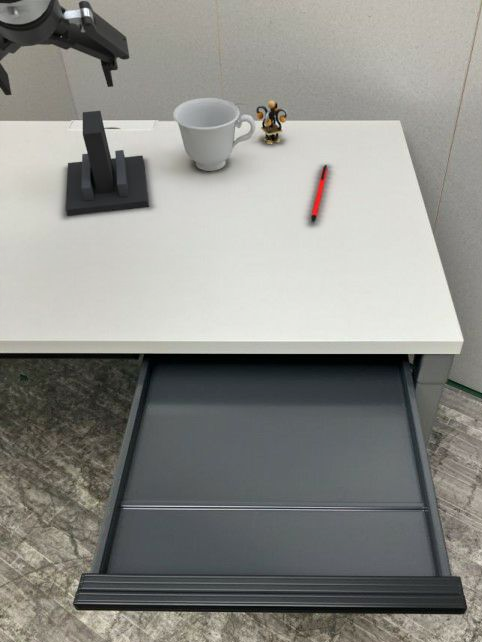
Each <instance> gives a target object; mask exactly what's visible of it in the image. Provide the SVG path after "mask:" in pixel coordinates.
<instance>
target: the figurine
mask: <svg viewBox="0 0 482 642" xmlns="http://www.w3.org/2000/svg"><path fill="white" fill-rule="evenodd" d="M267 105H268V108H269V109H270V110H268V109H267V107H266V106H265V105H262V104H259V105H257V106H256V108H255V112H256V118H257V119H258V120H262V119H263V118H264V113H263V111H264V112H265V118H264V119H263V120H262V122H261V125H262V126H260V129H261V131H262V132H264V133H265V137H264V138H263V141H266V144H268V145H272V144H274V143H278V144H279V142H280V141H281V139H280V138H279V133H283V132H284V130H283V129H282V124H284V123H286V122H287V118H288V110H287V109H285V108H281V107H280V108H278V102H277V101H274V100H269V101H268V103H267ZM260 109H263V111H259V110H260ZM280 112H283V113H284V114H281V115H280V116H279V113H280Z"/></svg>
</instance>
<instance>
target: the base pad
mask: <svg viewBox="0 0 482 642" xmlns="http://www.w3.org/2000/svg"><path fill="white" fill-rule="evenodd" d="M114 152H115V153H114V154H115V155H114V156H115V157H113V158H112V157H111V160H112V164H113V169H114V183H115V192H109V193H101V194H98V192H97V188H96V184H95V181H94V177H93V173H92V169H91V165H90V161H89V157H88V153H81V161H73V162H68V163H67V171H66V172H67V174H66V175H67V176H66V195H65V213H66V215H67V217H69V216H77V215H85V214H95V213H105V212H113V211H122V210H129V209H130V210H131V209H140V208H149V207H150V204H149V203H150V202H149V196H148V194H149V193H148V187H147V186H148V185H147V179H146V178H147V177H146V170H145V161H144V160H145V159H144V156H143V155H142V154H141V155H134V156H126V155H125V152H124V149H120V150H119V149H118V150H115V151H114Z"/></svg>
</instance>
